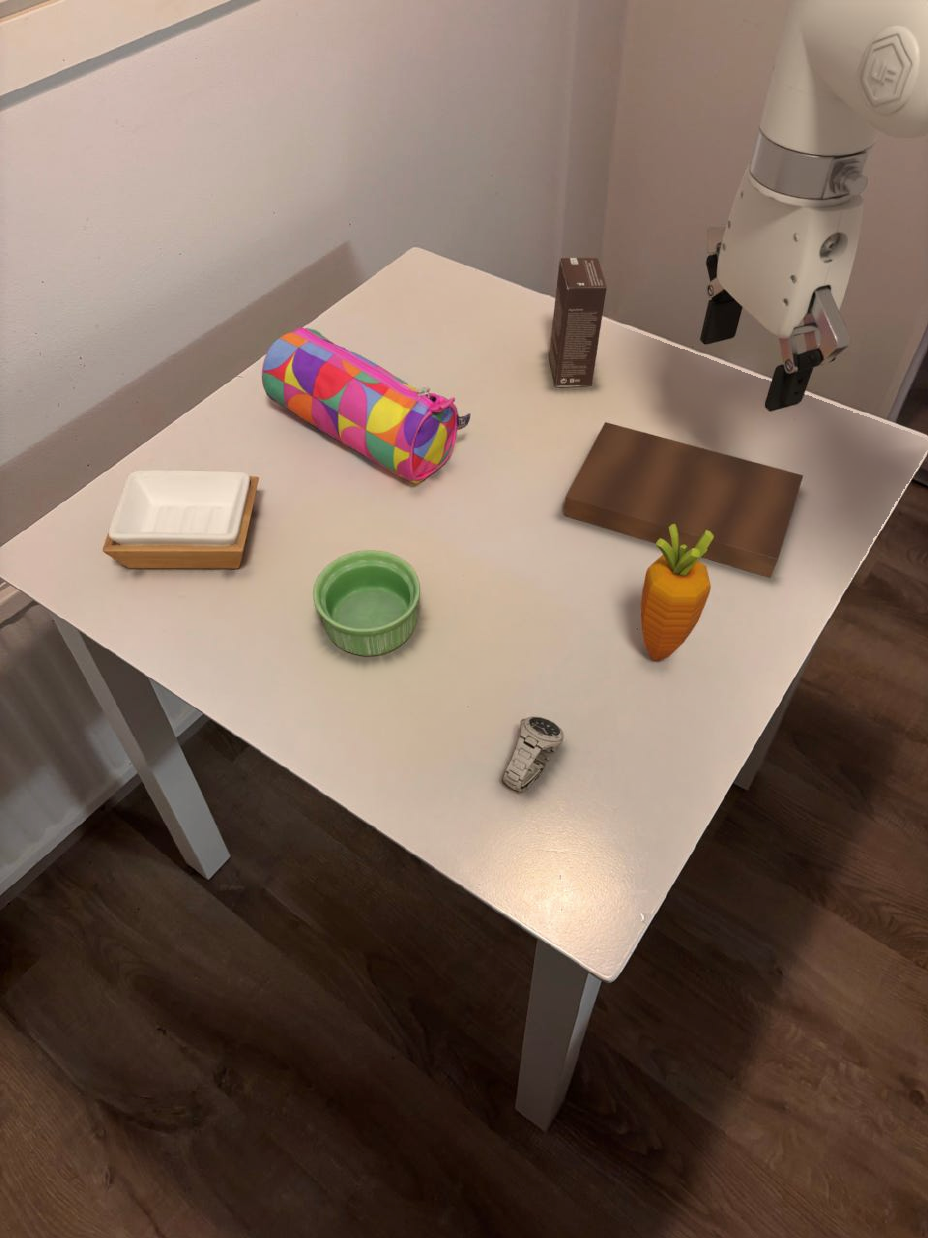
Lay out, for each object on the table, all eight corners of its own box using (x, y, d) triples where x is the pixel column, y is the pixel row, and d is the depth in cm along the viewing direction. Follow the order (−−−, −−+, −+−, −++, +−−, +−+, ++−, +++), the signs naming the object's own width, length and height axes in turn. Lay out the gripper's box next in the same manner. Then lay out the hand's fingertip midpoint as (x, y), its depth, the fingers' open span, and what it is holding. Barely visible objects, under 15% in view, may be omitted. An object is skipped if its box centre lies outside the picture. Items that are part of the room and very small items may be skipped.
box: (594, 386, 99) (608, 286, 90) (554, 388, 99) (563, 288, 89) (586, 353, 103) (599, 255, 93) (547, 355, 103) (556, 256, 93)
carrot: (620, 671, 75) (648, 548, 63) (635, 628, 78) (665, 503, 66) (678, 690, 74) (717, 568, 62) (692, 645, 77) (732, 521, 65)
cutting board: (795, 494, 88) (803, 475, 86) (770, 578, 81) (778, 559, 79) (602, 440, 93) (605, 421, 91) (563, 515, 87) (565, 496, 85)
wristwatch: (570, 751, 70) (575, 716, 66) (527, 810, 67) (531, 777, 63) (532, 729, 72) (535, 694, 68) (488, 786, 68) (489, 752, 65)
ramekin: (355, 569, 82) (350, 536, 79) (441, 605, 80) (439, 572, 76) (299, 637, 77) (291, 605, 74) (388, 678, 75) (384, 646, 71)
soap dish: (114, 578, 82) (96, 540, 78) (139, 503, 88) (123, 464, 84) (251, 578, 82) (240, 540, 78) (266, 503, 88) (256, 463, 84)
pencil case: (476, 451, 92) (477, 378, 85) (419, 503, 88) (415, 430, 81) (319, 375, 100) (308, 302, 93) (260, 418, 96) (243, 345, 89)
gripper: (939, 207, 57) (850, 422, 70) (782, 101, 67) (730, 307, 80) (840, 230, 55) (768, 446, 68) (694, 118, 65) (656, 325, 79)
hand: (748, 371), depth 74 cm, fingers open, 9 cm apart
